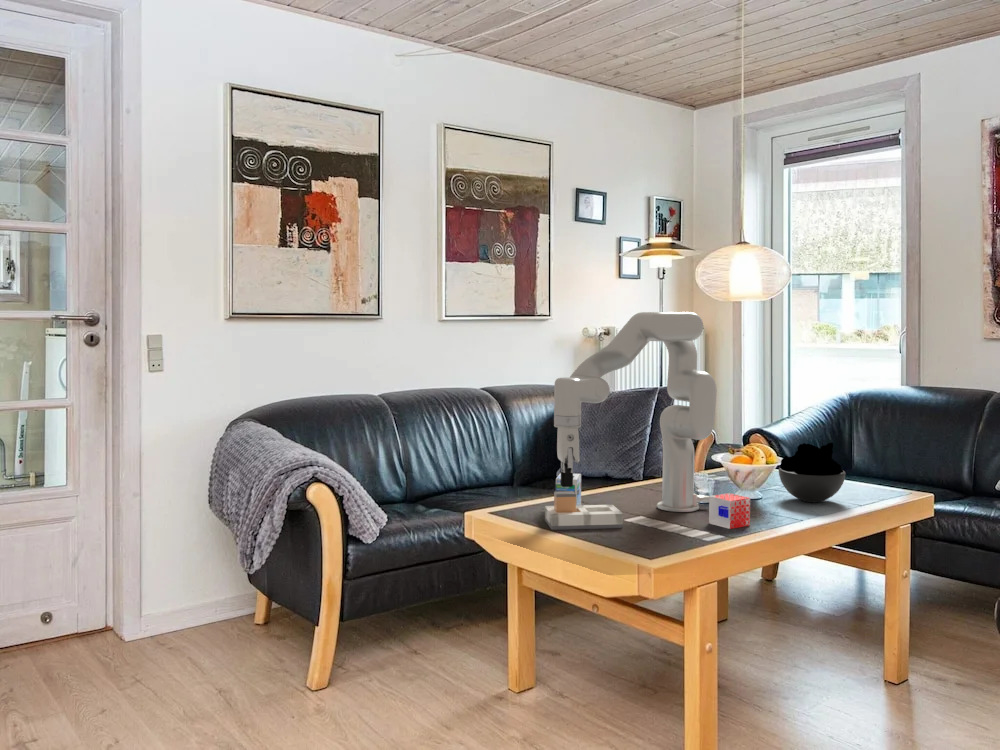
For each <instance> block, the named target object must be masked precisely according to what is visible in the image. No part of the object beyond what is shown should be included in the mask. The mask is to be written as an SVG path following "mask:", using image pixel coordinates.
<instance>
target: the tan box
mask: <svg viewBox="0 0 1000 750" xmlns="http://www.w3.org/2000/svg"><path fill="white" fill-rule="evenodd" d="M553 502H554V503H553V506H554V510H555V511H556V512H557V513H564V512H576V494H575V493H574V491H559V492H556V491H554V492H553Z"/></svg>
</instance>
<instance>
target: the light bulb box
mask: <svg viewBox="0 0 1000 750" xmlns="http://www.w3.org/2000/svg"><path fill="white" fill-rule="evenodd" d="M559 491H574V493H575V494H576V505H582V474H581V473H573V486H572V487H562V486H561V472H560V473H559V474H558V475H557V477H556V478H555V492H559Z"/></svg>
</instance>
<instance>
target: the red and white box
mask: <svg viewBox="0 0 1000 750" xmlns="http://www.w3.org/2000/svg"><path fill="white" fill-rule="evenodd" d="M708 496H709V495H708ZM708 504H709V505H708V506H709V507H708V509H709V511H708V523H709V524H710V525H713V526H714V525H715V526H718V527H722V528H724V529H728V530H730V529H731V530H732V529H737V528H742V527H743V528H744V527H749V526H751V525H750V524H751V497H747V496H743V495H739V494H736V493H735V494H734V493H730V492H729V493H728V492H727V493H721V494H714V495H710V496H709V502H708Z"/></svg>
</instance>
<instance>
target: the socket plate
mask: <svg viewBox="0 0 1000 750" xmlns="http://www.w3.org/2000/svg"><path fill="white" fill-rule="evenodd" d="M623 515H624V514H623V512H622V511H621V510H619V508H617V507H616V506H615V505H614V504H585V505H584V504H581V505H576V512H564V513H557V512H556V511H555V510H554V505H545V506H544V522H545V523H546V524H547V525H548V527H549V528H550V530H551V531H552V530H553V531H554V530H562V531H563V530H591V529H594V530H596V529H623V528H624V527H623V524H624V516H623Z"/></svg>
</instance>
